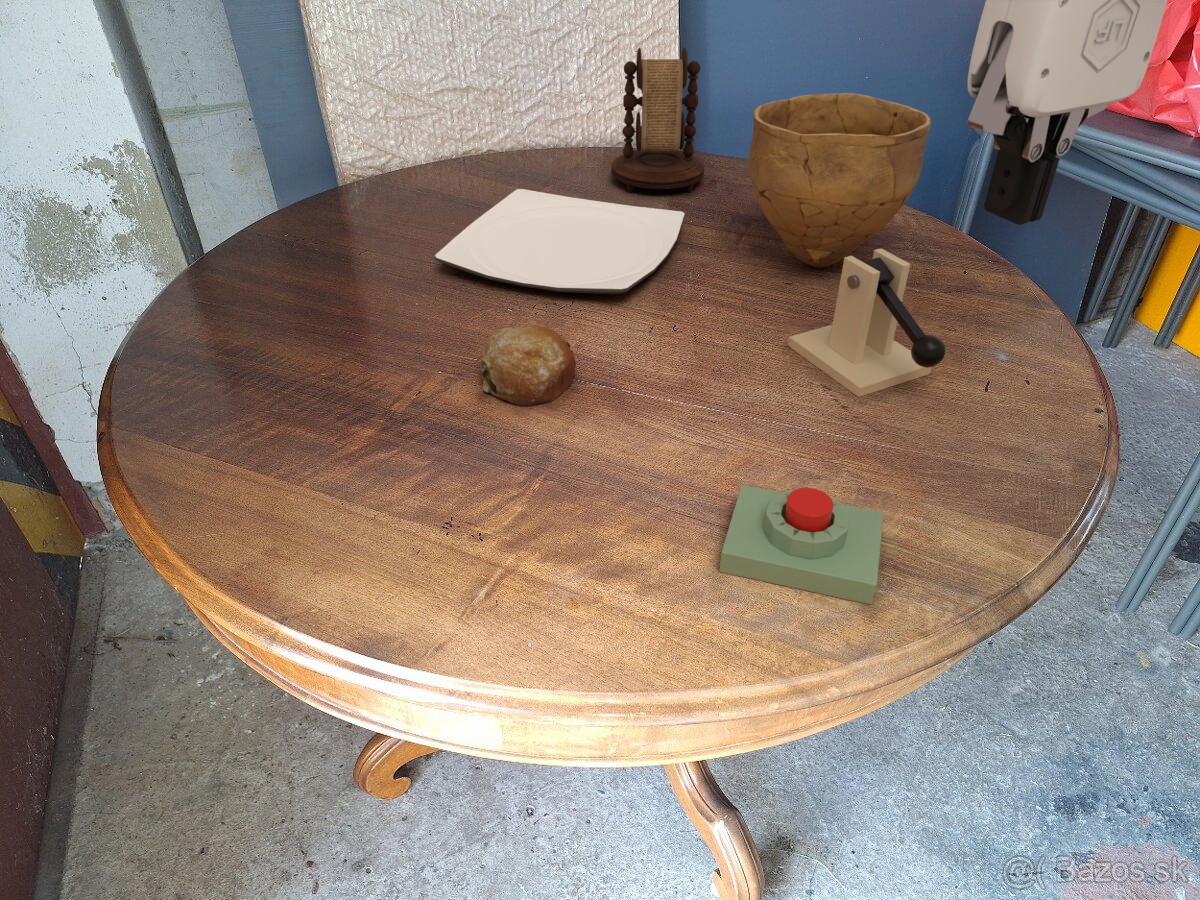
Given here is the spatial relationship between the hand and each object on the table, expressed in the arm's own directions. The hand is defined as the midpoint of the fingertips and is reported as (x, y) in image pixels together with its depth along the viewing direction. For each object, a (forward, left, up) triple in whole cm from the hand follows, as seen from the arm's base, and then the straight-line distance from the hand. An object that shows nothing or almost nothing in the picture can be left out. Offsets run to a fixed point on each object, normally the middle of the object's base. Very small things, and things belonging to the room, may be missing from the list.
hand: (1011, 214), depth 57 cm
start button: (+9, +3, -25) cm, 27 cm away
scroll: (+42, -77, -29) cm, 92 cm away
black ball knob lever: (+4, -27, -23) cm, 36 cm away
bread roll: (+40, -15, -29) cm, 52 cm away
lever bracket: (+7, -30, -29) cm, 42 cm away
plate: (+47, -47, -29) cm, 73 cm away
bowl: (+14, -53, -29) cm, 62 cm away
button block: (+9, +3, -29) cm, 30 cm away
